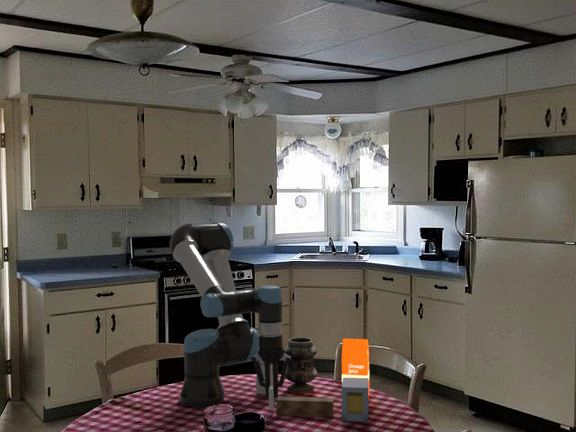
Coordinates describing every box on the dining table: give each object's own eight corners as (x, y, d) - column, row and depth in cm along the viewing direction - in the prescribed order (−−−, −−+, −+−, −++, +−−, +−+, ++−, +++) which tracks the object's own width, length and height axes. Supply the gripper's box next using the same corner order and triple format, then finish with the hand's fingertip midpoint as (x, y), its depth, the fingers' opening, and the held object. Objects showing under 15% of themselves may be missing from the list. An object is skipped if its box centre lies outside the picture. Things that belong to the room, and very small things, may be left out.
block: (347, 418, 192) (347, 396, 192) (347, 412, 197) (347, 391, 197) (363, 418, 191) (363, 396, 191) (363, 413, 196) (363, 391, 196)
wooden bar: (276, 415, 196) (276, 400, 196) (277, 411, 199) (277, 396, 199) (333, 417, 194) (332, 401, 194) (333, 413, 197) (333, 397, 197)
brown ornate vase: (318, 394, 215) (317, 343, 215) (283, 394, 216) (282, 343, 215) (316, 383, 227) (316, 335, 227) (284, 384, 228) (283, 335, 227)
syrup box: (271, 395, 215) (273, 354, 214) (255, 393, 216) (257, 352, 215) (275, 390, 220) (277, 350, 220) (259, 388, 222) (261, 348, 221)
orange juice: (344, 392, 217) (343, 336, 217) (369, 393, 216) (369, 336, 215) (341, 399, 210) (341, 341, 209) (368, 400, 208) (367, 342, 207)
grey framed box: (341, 420, 190) (341, 387, 190) (343, 409, 200) (343, 377, 199) (368, 421, 189) (367, 387, 188) (368, 410, 199) (368, 378, 198)
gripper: (248, 336, 195) (249, 411, 195) (289, 337, 192) (290, 412, 193) (253, 331, 202) (254, 403, 202) (292, 332, 200) (294, 404, 200)
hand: (272, 407), depth 198 cm, fingers closed
